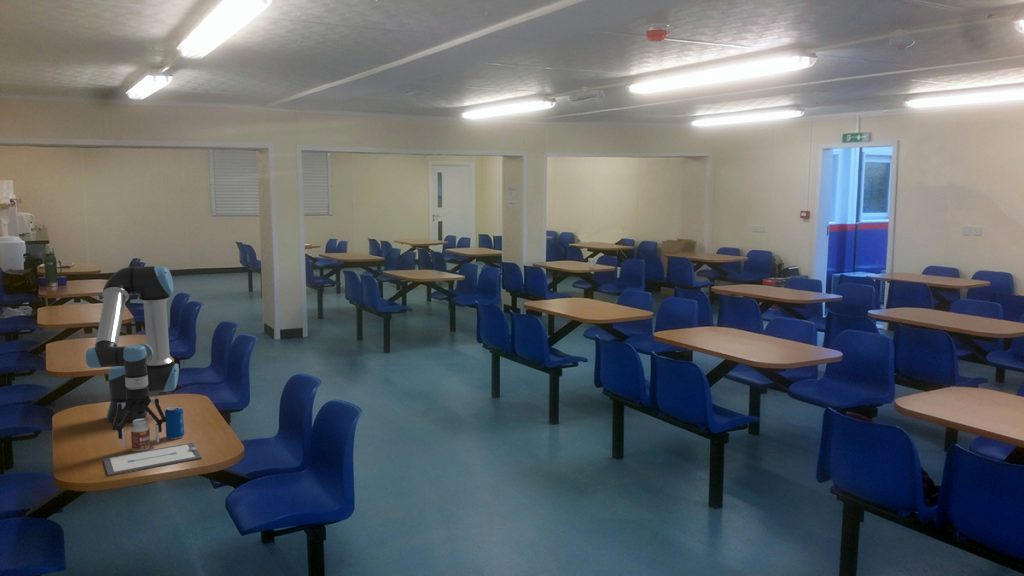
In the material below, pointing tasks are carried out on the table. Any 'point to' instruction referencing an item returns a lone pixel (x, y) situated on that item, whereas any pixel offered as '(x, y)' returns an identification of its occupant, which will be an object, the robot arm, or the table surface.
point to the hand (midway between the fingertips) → (140, 443)
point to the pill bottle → (140, 435)
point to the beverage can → (174, 422)
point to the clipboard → (151, 459)
